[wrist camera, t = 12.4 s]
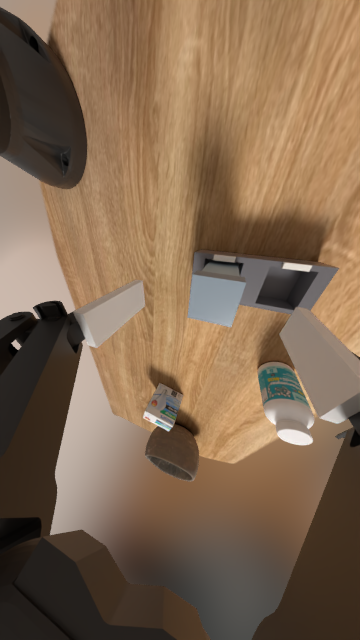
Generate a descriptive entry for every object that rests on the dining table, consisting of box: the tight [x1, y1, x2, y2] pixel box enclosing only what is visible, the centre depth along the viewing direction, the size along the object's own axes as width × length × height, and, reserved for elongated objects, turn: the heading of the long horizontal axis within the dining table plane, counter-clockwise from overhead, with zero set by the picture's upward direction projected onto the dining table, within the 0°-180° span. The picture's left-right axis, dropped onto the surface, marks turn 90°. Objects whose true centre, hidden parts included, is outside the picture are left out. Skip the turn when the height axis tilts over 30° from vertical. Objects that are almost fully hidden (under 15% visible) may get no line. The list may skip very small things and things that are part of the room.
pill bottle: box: [258, 362, 314, 445], centre depth 27 cm, size 8×7×14 cm
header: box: [190, 249, 339, 314], centre depth 22 cm, size 7×18×6 cm, turn 86°
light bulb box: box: [143, 383, 183, 431], centre depth 49 cm, size 11×7×11 cm, turn 73°
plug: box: [188, 260, 246, 327], centre depth 19 cm, size 5×5×13 cm
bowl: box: [145, 424, 199, 481], centre depth 63 cm, size 24×24×15 cm
